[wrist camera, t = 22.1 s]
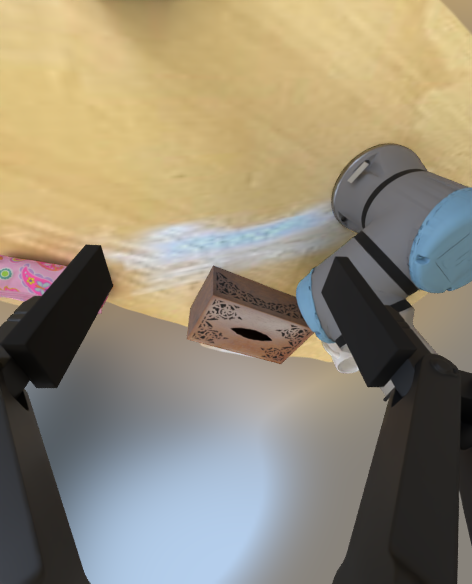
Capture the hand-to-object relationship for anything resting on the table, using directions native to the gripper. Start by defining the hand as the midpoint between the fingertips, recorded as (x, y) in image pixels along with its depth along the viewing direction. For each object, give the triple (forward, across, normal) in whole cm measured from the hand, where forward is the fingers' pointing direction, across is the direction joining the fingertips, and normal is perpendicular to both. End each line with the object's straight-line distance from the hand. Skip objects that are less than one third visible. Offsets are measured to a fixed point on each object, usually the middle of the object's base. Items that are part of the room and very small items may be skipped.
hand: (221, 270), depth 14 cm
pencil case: (+34, -34, -26) cm, 54 cm away
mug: (+35, +35, -45) cm, 67 cm away
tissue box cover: (+35, +8, -34) cm, 49 cm away
